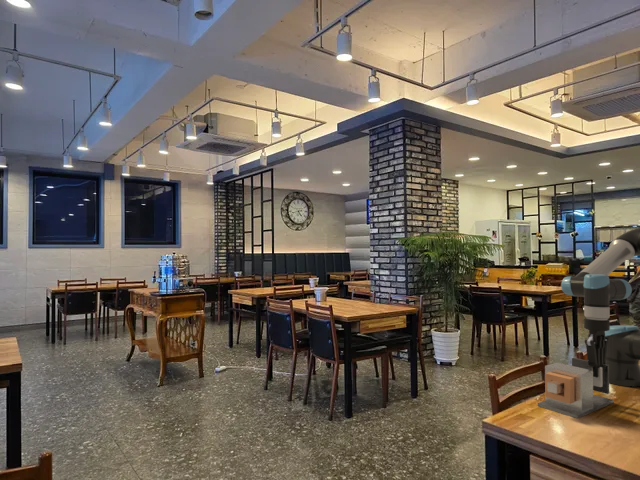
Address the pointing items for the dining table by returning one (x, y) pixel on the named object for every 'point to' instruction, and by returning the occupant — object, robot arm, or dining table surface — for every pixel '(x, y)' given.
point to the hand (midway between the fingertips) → (597, 385)
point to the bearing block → (583, 392)
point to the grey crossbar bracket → (559, 387)
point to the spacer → (568, 388)
